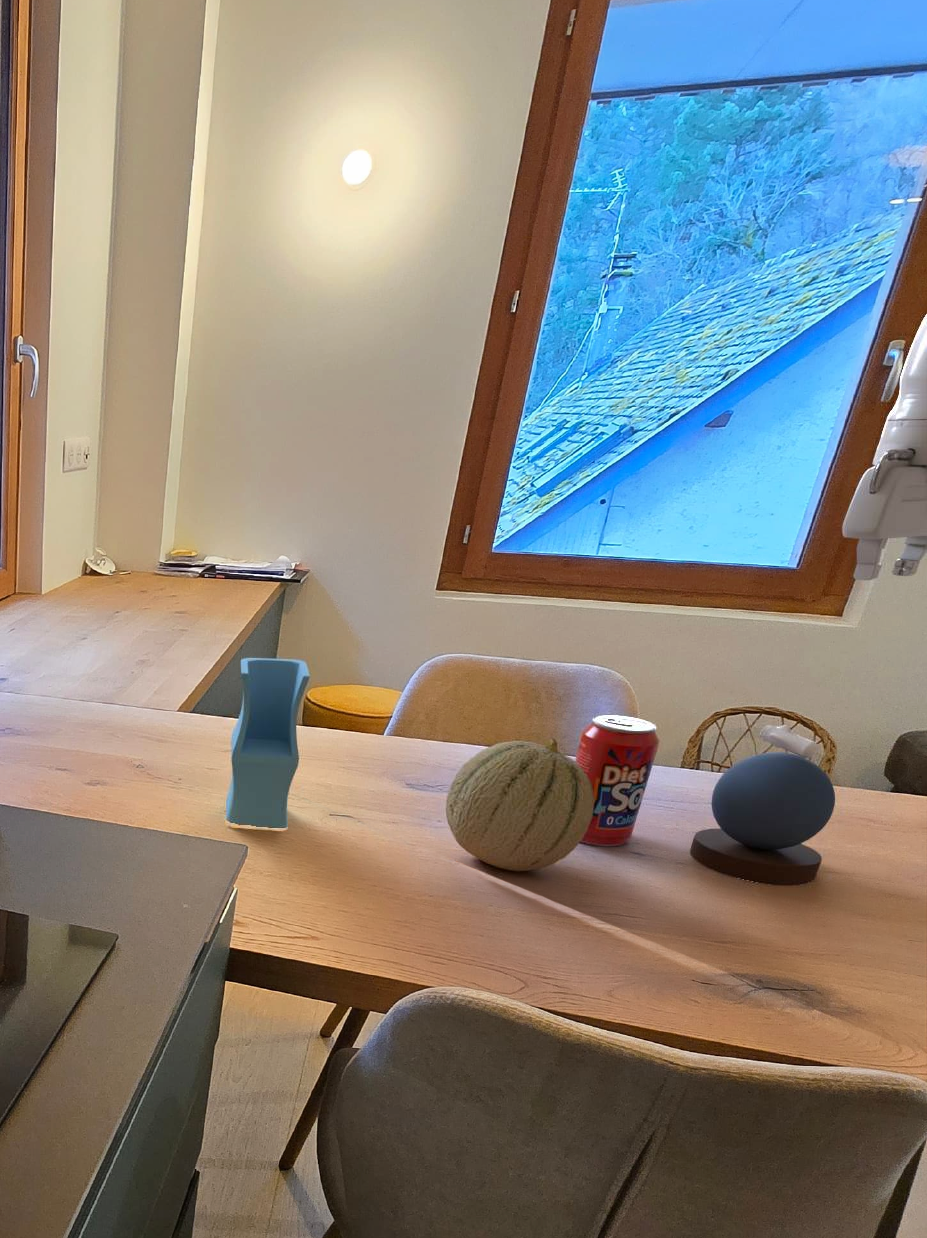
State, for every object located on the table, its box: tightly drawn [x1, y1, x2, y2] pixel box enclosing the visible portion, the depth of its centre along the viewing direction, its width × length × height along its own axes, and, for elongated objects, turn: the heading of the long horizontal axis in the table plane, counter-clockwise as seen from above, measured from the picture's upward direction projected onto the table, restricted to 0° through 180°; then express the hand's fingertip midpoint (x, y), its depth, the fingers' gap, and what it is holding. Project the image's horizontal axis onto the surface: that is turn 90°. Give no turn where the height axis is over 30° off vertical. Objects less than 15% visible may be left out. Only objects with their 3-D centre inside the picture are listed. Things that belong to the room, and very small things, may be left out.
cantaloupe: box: [445, 737, 594, 872], centre depth 115 cm, size 15×15×15 cm
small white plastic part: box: [759, 724, 821, 759], centre depth 113 cm, size 4×6×3 cm, turn 0°
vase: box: [225, 657, 311, 828], centre depth 128 cm, size 8×8×20 cm
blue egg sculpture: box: [689, 751, 836, 887], centre depth 116 cm, size 12×12×14 cm
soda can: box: [574, 714, 660, 847], centre depth 123 cm, size 8×8×15 cm
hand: (883, 577), depth 119 cm, fingers open, 8 cm apart
